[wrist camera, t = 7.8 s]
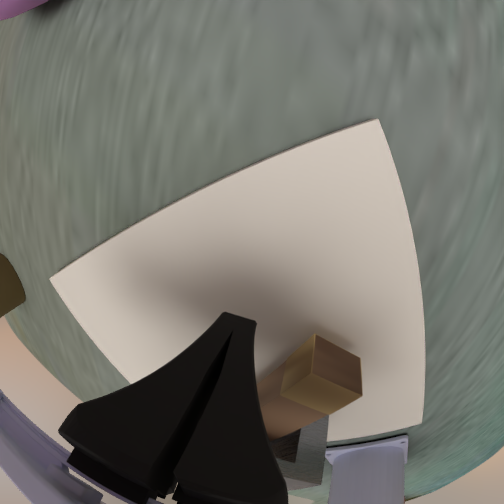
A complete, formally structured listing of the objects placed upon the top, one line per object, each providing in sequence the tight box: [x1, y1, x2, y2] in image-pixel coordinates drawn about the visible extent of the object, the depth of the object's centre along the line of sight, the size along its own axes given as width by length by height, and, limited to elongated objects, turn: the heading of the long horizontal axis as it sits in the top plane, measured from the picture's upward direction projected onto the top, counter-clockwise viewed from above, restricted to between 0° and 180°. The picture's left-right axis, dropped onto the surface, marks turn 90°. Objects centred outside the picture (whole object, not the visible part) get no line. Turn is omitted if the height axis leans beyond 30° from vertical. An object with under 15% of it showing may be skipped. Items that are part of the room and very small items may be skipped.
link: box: [257, 333, 363, 441], centre depth 13 cm, size 15×4×2 cm, turn 151°
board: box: [50, 119, 425, 441], centre depth 15 cm, size 20×21×1 cm
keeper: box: [270, 415, 329, 491], centre depth 15 cm, size 10×7×5 cm
